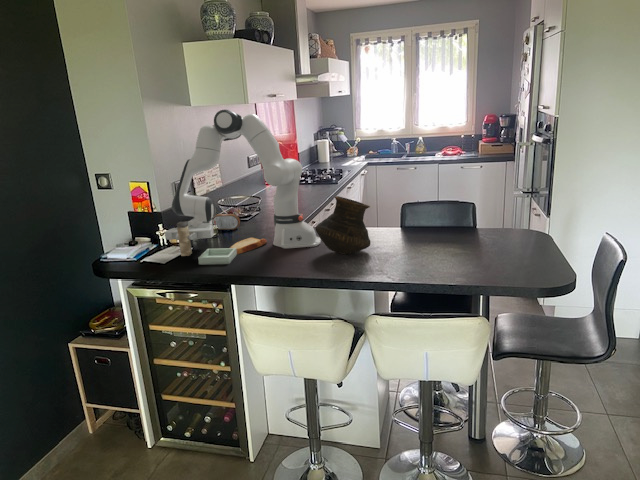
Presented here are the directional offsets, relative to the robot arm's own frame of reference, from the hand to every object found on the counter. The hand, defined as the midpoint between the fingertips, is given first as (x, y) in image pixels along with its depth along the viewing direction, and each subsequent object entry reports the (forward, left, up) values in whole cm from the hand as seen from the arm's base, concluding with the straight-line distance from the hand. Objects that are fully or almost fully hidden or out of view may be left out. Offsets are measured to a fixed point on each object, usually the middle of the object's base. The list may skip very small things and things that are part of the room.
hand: (183, 238), depth 202 cm
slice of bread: (-22, -22, -12) cm, 33 cm away
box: (-13, -4, -11) cm, 17 cm away
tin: (-2, -58, -11) cm, 59 cm away
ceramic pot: (-66, -9, -11) cm, 68 cm away
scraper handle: (0, -1, -8) cm, 8 cm away
